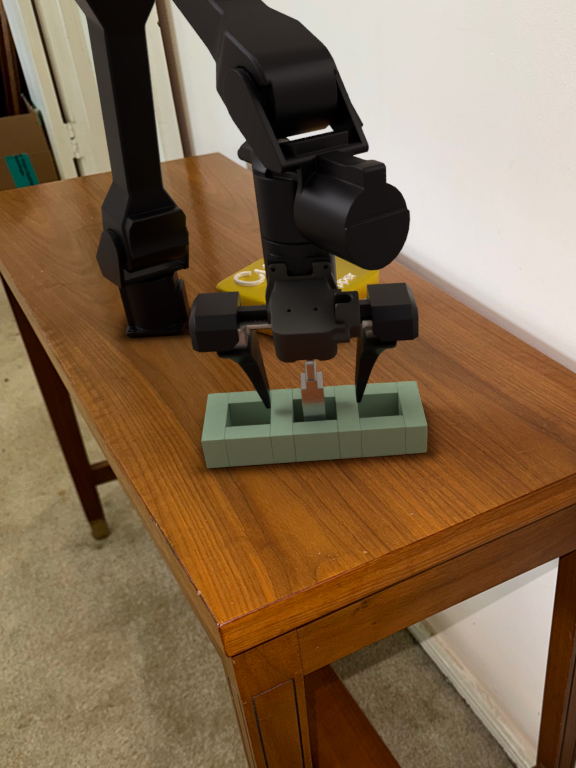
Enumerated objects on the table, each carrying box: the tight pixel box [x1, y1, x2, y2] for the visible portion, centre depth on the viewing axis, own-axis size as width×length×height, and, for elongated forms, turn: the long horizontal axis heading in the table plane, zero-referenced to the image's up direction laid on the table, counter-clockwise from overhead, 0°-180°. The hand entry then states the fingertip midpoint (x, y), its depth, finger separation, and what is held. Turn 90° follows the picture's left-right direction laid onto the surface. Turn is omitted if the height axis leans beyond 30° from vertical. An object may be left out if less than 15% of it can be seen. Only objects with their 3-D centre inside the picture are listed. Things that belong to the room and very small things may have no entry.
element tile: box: [215, 256, 381, 337], centre depth 91 cm, size 15×15×5 cm
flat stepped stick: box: [299, 360, 326, 422], centre depth 69 cm, size 2×4×8 cm, turn 6°
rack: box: [200, 380, 428, 469], centre depth 71 cm, size 20×8×3 cm, turn 97°
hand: (313, 403), depth 70 cm, fingers open, 8 cm apart
